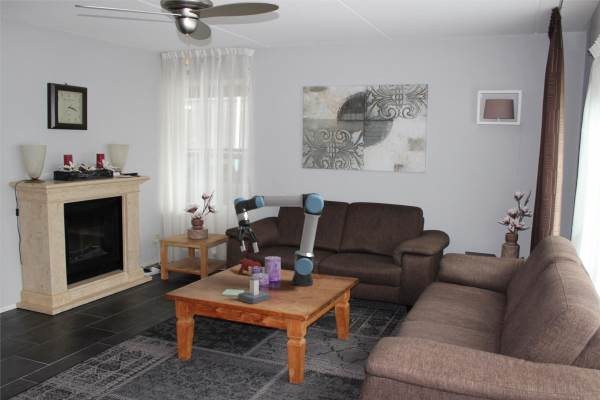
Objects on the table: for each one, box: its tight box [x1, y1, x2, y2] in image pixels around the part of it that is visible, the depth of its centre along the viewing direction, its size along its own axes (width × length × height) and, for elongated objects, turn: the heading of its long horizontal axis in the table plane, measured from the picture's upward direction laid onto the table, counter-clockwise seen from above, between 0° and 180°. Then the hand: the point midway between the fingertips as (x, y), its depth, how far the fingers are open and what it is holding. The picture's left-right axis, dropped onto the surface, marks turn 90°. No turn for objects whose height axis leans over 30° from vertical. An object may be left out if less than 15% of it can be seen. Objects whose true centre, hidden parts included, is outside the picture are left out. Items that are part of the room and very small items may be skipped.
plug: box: [248, 276, 260, 296], centre depth 328 cm, size 5×5×14 cm
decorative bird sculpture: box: [236, 257, 262, 275], centre depth 395 cm, size 28×9×15 cm
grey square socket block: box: [237, 290, 271, 305], centre depth 329 cm, size 14×14×4 cm
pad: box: [221, 288, 245, 298], centre depth 341 cm, size 12×12×1 cm
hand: (250, 251), depth 340 cm, fingers open, 13 cm apart
